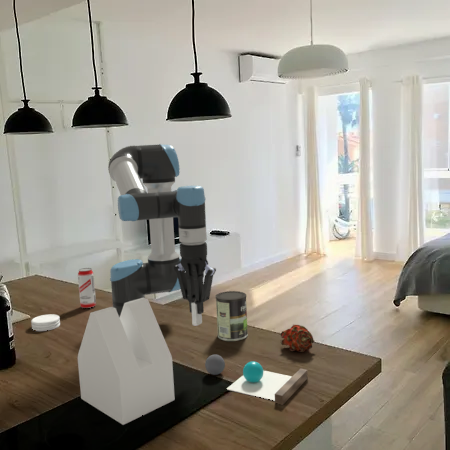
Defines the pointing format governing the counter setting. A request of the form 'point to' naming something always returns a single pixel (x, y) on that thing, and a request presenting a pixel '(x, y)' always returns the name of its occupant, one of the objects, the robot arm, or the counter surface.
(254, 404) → the counter surface
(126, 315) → the white v-notch block
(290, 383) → the stopper wall
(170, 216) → the robot arm
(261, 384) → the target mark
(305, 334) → the dragon fruit
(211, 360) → the gray ball
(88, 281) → the beer can
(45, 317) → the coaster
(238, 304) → the coffee can
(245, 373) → the teal ball
